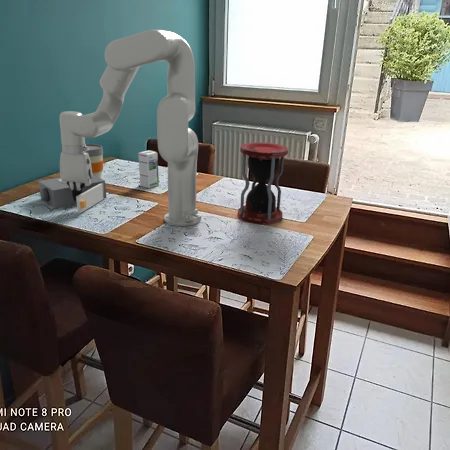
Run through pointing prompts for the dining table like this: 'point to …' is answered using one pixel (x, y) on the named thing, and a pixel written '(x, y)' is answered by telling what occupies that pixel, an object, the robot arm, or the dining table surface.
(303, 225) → the dining table surface
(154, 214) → the dining table surface
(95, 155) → the reusable coffee cup
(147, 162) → the syrup box
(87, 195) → the side door
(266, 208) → the hourglass
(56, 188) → the camera housing
